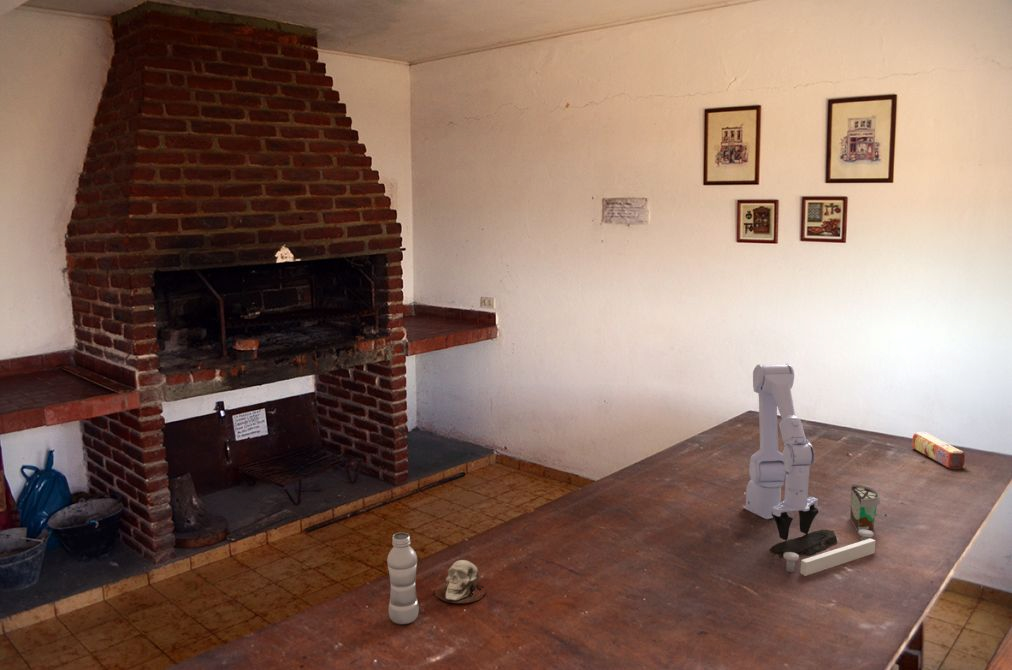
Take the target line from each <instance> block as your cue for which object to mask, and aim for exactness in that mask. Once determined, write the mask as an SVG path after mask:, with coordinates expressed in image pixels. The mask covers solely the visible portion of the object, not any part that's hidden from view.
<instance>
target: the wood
mask: <svg viewBox="0 0 1012 670" xmlns="http://www.w3.org/2000/svg"><path fill="white" fill-rule="evenodd" d="M835 544H838V538H837V535H836V534H835V531H834V530H830V529H820V530H819V529H818V530H815V531H814V530H813V531H811V532H808V534H803V535H802V536H799V537H798V536H797V537H795V538H791V539H787V540H784V541H781V542H778V543H775V544H774V545H772V546H771V547H770V548H769V552H770V553H771V554H774V555H779V556H778V557H779V558H782V557H783V555H784V553H786V552H793V553H796V554H798V555H799V556H800V555H801V554H805V555H807V556H814V555H815V554H816V555H817V553H820V552H823V551H826V550H827V549H828V548H829V547H830V546H834V545H835ZM783 558H784V557H783Z"/></svg>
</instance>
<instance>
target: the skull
mask: <svg viewBox="0 0 1012 670" xmlns="http://www.w3.org/2000/svg"><path fill="white" fill-rule="evenodd" d="M447 574H448V575H447V577H446V578H445V581H446V582H447V583H446V584H445V582H443V583H441V584H440V585H438V586H437V587H436V588H435V591H434V594H435V596H436V597H437V599H440V600H442V601H444V602H447V603H451V604H468V603H475V602H476V601H480V600H481V599H482V598H483V595H481V594H480V596H478V595H479V594H474V595H473V593H472V592H473V591H474V590H475V587H476V586H477V585H478V581H479V569H478V567H477V566H476V565H475V564H474V563H472V562H471V561H469V560H466V559H460V560H456V561H455V562H454V563H453V564H452V565H451V566H450V568H448V570H447ZM471 594H472V595H473V596H472V595H471Z"/></svg>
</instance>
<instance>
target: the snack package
mask: <svg viewBox="0 0 1012 670" xmlns="http://www.w3.org/2000/svg"><path fill="white" fill-rule="evenodd" d="M911 448H913V449H914V451H915V450H916V451H917V452H919V453H921V454H923V455H924V456H927V457H929V458H930V459H932V460H934V461H936V462H937V463H939V464H941V465H942V466H944V467H945V468H947V469H950V470H957V469H962V468H963V467H964V465H965V459H966V458H965V457H966V454H965V451H963V450H961V449H959V448H956V447H954V446H953V445H951V444H949V443H948V442H945V441H943V440H942V439H939V438H937V437H936V436H934V435H932V434H930V433H928V432H926V431H917V432H915V433H914V434H913V435H912V437H911Z"/></svg>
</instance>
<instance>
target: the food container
mask: <svg viewBox="0 0 1012 670" xmlns="http://www.w3.org/2000/svg"><path fill="white" fill-rule="evenodd" d="M850 487H851V488H850V491H851V492H850V513H849V519H850V521H851V523H852V524H853V526H854V529H855V530H856V532H857V533H858V531H859V530H861V529H865V530H870V531H873V530H874V526H875V525H874V524H875V521H876V515H877V514H876V513H877V509H878V508H877V507H878V506H879V505H880V504H881V499H880V494H879V492H878V491H877V490H876V489H874V488H872V487H871V486H870V487H869V486H866V485H862V484H856V483H852V484H851V486H850Z"/></svg>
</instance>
